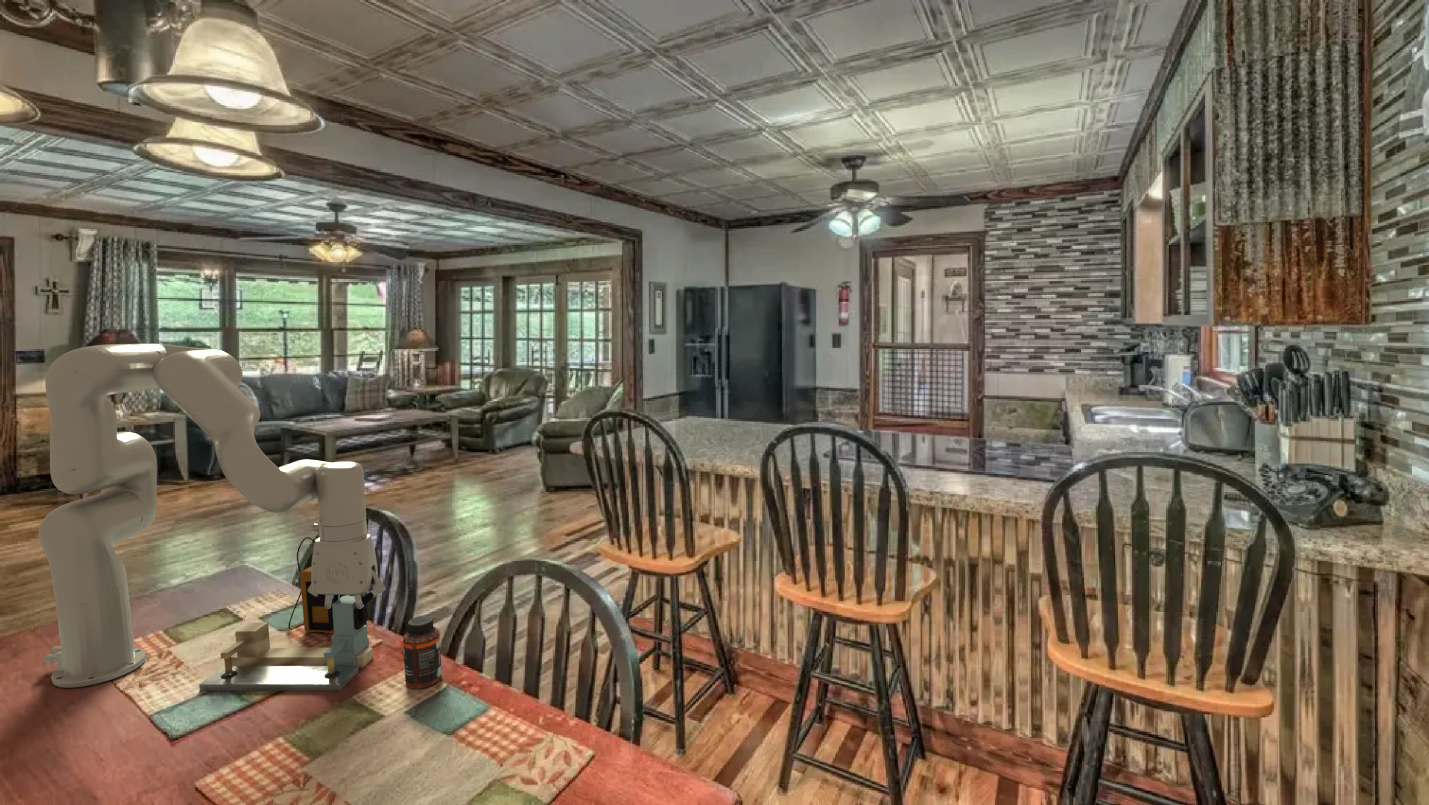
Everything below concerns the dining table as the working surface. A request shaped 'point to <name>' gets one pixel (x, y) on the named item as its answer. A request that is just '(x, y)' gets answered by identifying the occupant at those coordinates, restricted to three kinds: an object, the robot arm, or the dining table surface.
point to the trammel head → (345, 635)
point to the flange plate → (280, 678)
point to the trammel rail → (275, 651)
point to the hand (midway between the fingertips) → (349, 625)
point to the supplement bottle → (422, 653)
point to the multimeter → (312, 604)
